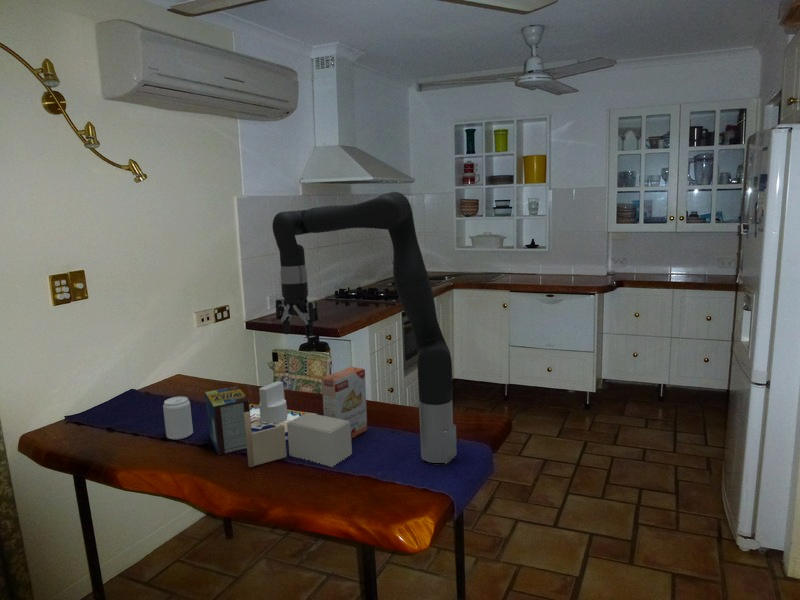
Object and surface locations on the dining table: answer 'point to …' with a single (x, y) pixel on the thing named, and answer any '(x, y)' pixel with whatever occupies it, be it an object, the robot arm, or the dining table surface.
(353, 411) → the cracker box
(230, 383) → the dining table surface
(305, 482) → the dining table surface
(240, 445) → the protein box
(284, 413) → the cylinder with rectangular tab
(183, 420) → the beverage can
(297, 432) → the carton
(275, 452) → the flap
